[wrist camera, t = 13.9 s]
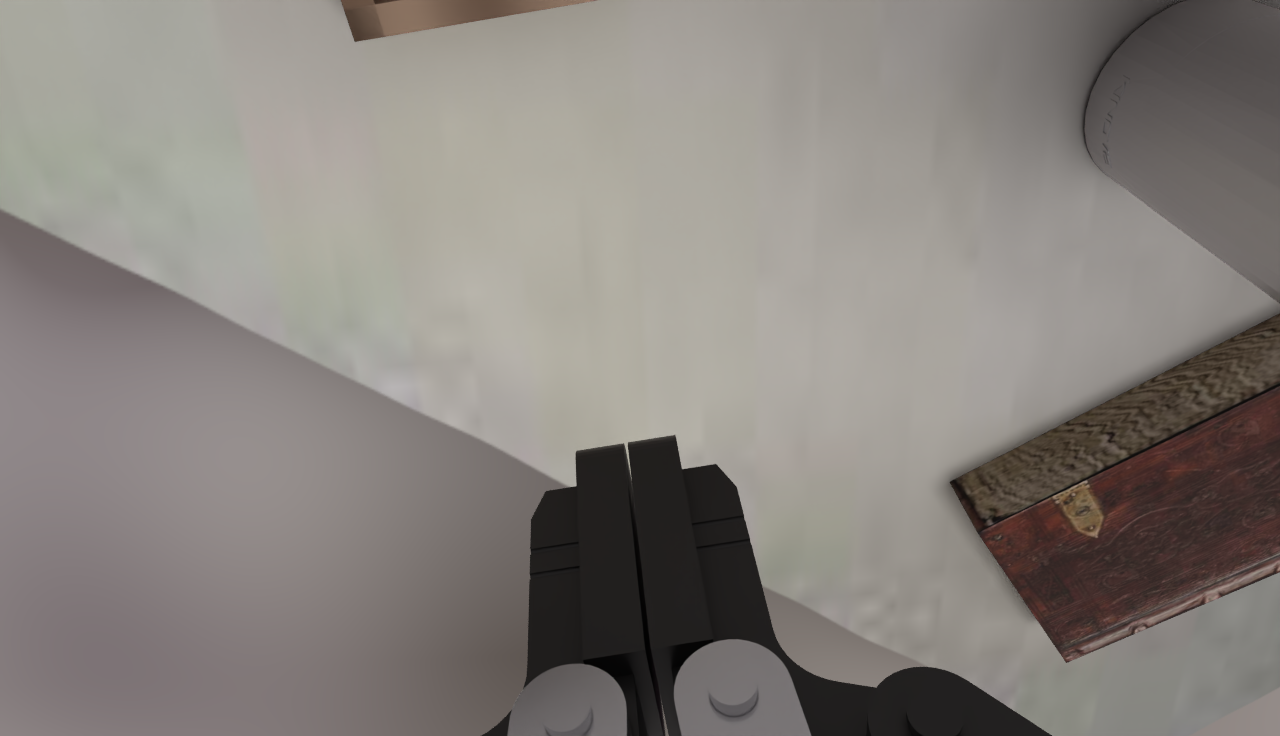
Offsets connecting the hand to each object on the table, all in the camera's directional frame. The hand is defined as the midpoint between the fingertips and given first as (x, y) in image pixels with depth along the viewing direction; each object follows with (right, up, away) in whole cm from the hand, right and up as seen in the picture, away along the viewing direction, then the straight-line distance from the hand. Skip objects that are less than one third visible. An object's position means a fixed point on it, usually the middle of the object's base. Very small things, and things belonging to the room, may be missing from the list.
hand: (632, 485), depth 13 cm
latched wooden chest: (+38, -4, +44) cm, 58 cm away
